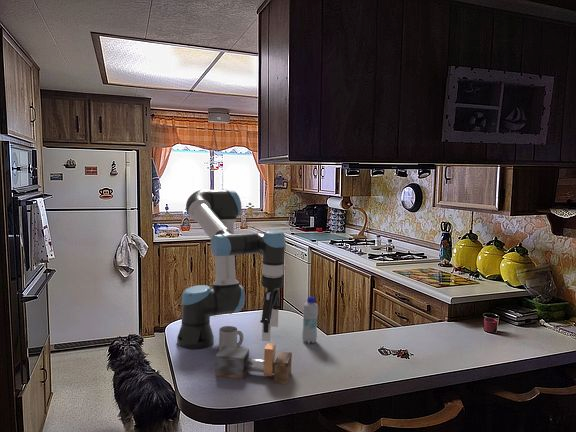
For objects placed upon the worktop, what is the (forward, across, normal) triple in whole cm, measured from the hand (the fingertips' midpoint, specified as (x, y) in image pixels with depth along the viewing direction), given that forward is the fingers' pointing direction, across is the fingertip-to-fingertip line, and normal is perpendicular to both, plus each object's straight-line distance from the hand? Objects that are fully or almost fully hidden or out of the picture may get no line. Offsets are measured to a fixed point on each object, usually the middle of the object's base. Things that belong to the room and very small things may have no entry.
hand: (270, 333), depth 154 cm
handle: (+15, 0, +3) cm, 15 cm away
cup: (+16, +18, +19) cm, 31 cm away
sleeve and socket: (+16, 0, +5) cm, 17 cm away
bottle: (+16, +34, -11) cm, 40 cm away
